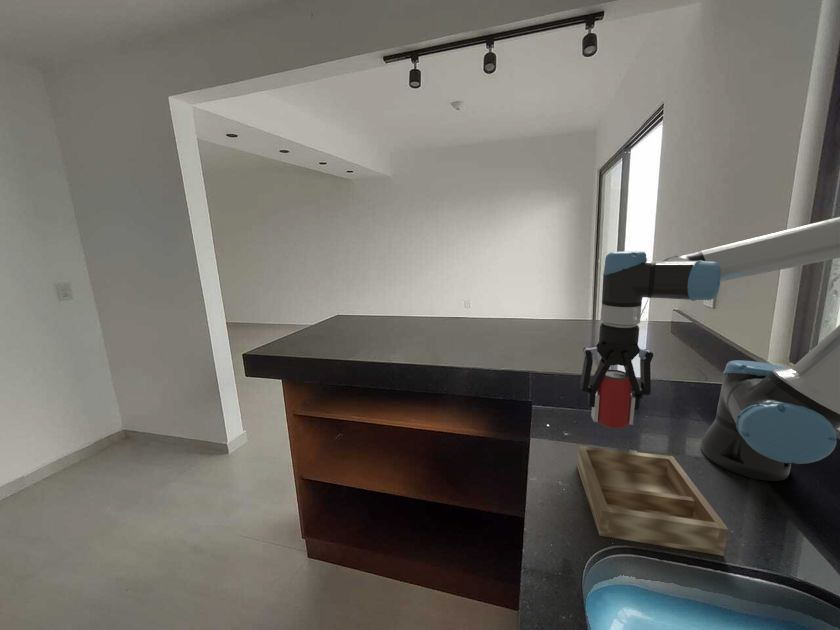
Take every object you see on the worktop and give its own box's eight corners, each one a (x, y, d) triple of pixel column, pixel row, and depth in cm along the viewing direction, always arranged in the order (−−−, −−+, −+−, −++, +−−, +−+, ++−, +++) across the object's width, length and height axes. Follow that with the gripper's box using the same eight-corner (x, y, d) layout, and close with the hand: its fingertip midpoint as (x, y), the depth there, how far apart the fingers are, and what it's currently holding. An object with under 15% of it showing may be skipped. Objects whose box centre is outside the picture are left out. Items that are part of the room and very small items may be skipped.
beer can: (632, 431, 78) (637, 379, 75) (600, 428, 79) (603, 378, 77) (621, 416, 84) (626, 368, 82) (592, 414, 85) (595, 367, 83)
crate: (669, 477, 75) (672, 456, 74) (723, 555, 57) (728, 529, 56) (576, 465, 79) (578, 445, 78) (599, 535, 61) (602, 510, 60)
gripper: (662, 320, 78) (652, 415, 83) (568, 319, 83) (563, 409, 87) (678, 328, 71) (666, 432, 76) (574, 326, 75) (569, 425, 80)
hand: (611, 420), depth 82 cm, fingers closed on beer can, 7 cm apart
